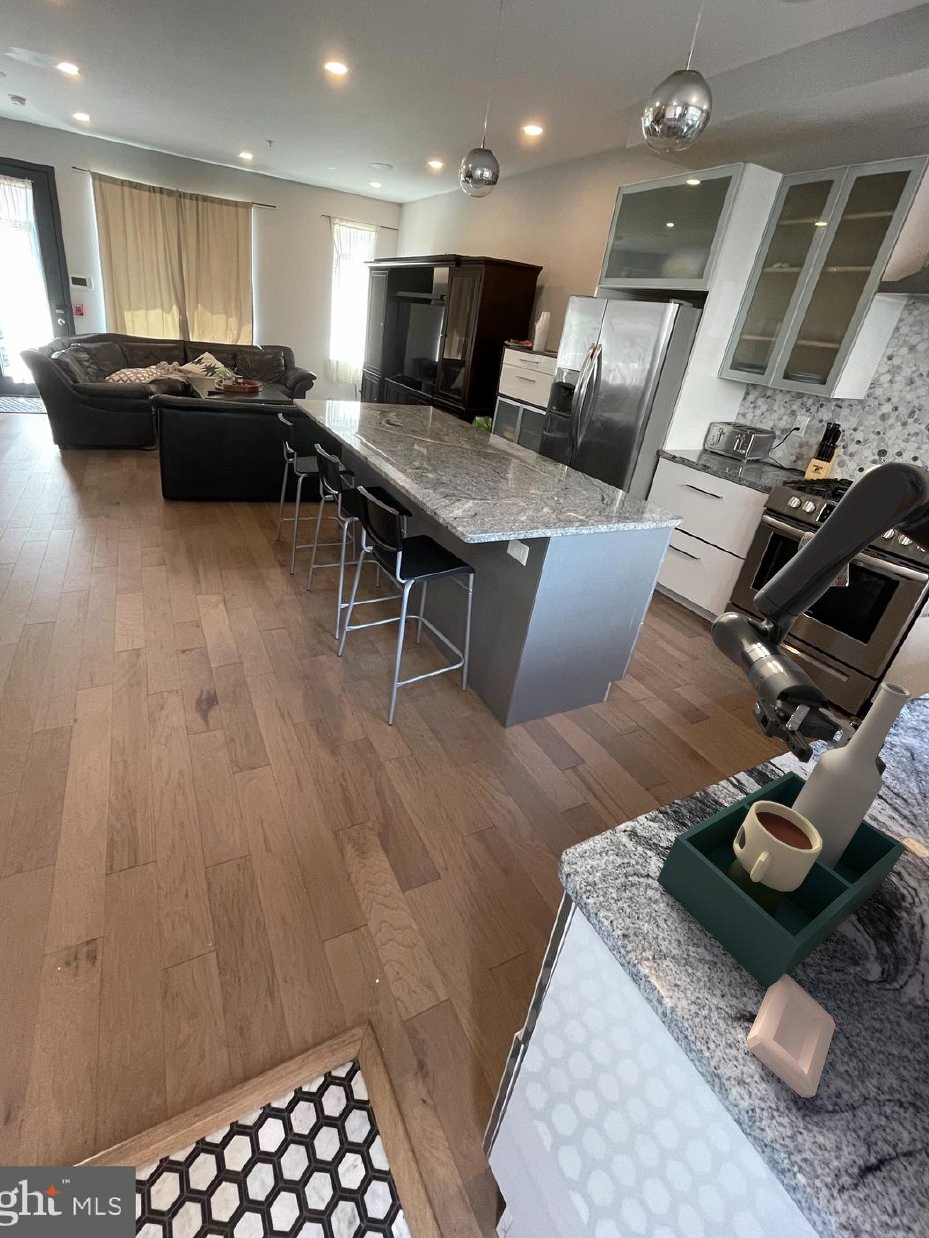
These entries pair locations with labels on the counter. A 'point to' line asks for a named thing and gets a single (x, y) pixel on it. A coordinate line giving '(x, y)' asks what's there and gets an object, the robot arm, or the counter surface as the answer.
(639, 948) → the counter surface
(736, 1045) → the counter surface
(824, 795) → the bottle
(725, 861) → the divided storage tray
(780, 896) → the character mug
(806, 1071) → the soap bar
